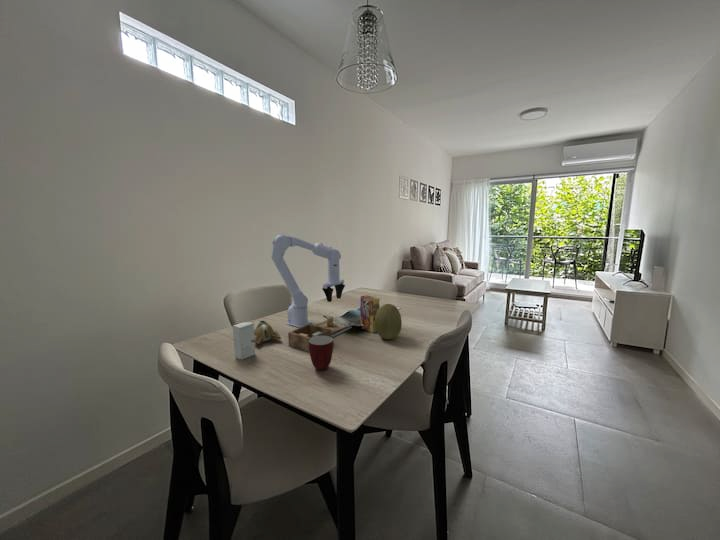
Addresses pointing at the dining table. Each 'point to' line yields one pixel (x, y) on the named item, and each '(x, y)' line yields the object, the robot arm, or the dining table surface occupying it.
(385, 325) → the fruit
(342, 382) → the dining table surface
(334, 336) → the mat
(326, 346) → the mug
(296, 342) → the box
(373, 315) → the candy box
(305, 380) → the dining table surface
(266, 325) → the ceramic sculpture
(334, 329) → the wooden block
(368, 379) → the dining table surface
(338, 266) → the robot arm
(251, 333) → the skincare box
